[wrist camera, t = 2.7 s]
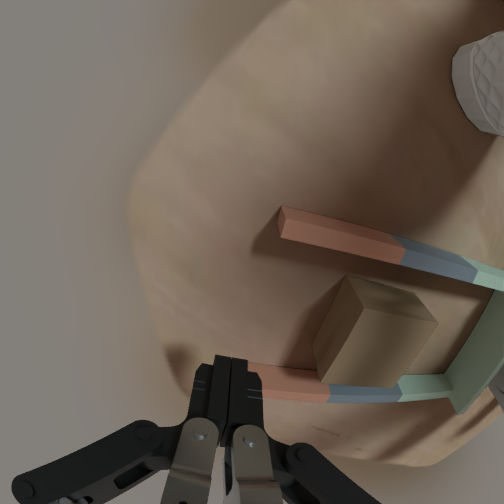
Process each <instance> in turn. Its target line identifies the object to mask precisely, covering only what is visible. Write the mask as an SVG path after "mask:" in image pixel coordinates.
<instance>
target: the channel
mask: <svg viewBox="0 0 504 504" xmlns="http://www.w3.org/2000/svg"><path fill="white" fill-rule="evenodd" d="M277 224H278V228H279V232H280V237H281V238H284V239H289V240H294V241H298V242H303V243H307V244H312V245H316V246H321V247H325V248H329V249H334V250H338V251H342V252H347V253H351V254H355V255H360V256H364V257H368V258H373V259H377V260H381V261H385V262H389V263H393V264H398V265H402V266H406V267H410V268H414V269H418V270H422V271H426V272H430V273H434V274H438V275H442V276H446V277H450V278H454V279H458V280H462V281H466V282H469V283H473V284H477V285H481V286H485V287H488V288H492V289H495V291H494V293H493V295H492V297H491V299H490V301H489V302H488V304H487V306H486V308H485V310H484V312H483V314H482V315H481V317H480V319H479V321H478V322H477V324H476V326H475V328H474V329H473V331H472V333H471V334H470V336H469V337H468V339H467V341H466V342H465V344H464V345H463V347H462V348H461V350H460V351H459V353H458V354H457V356H456V357H455V359H454V360H453V362H452V363H451V365H450V366H449V367H448V369H447V370H446V371H445V373H444V374H429V375H402V377H401V378H400V379H399V380H398V382H397V383H396V384H395V385H394V387H393V388H379V387H362V386H348V385H337V384H327V383H320V380H319V376H318V371H312V370H302V369H293V368H285V367H277V366H270V365H263V364H256V363H249V362H248V371H251V372H257V373H258V375H259V377H260V379H261V381H262V396H263V397H264V398H273V399H282V400H294V401H307V402H326V403H387V402H405V401H418V400H429V399H438V398H446V397H448V398H449V400H450V402H451V404H452V406H453V408H454V410H455V411H456V413H457V415H459V414H463V413H464V412H465V411H466V410H467V409H468V408H469V407H470V405H471V404H472V403H473V402H474V401H475V400H476V399H477V397H478V396H479V395H480V394H481V393H482V391H483V390H484V389H485V388H486V386H487V385H488V384H489V383H490V381H491V380H492V379H493V377H494V376H495V375H496V373H497V372H498V371H499V369H500V368H501V367H502V365H503V364H504V271H502V270H500V269H497V268H494V267H491V266H488V265H486V264H483V263H480V262H477V261H474V260H471V259H468V258H466V257H463V256H460V255H457V254H454V253H451V252H447V251H444V250H441V249H438V248H435V247H432V246H429V245H425V244H422V243H419V242H416V241H412V240H409V239H406V238H402V237H399V236H396V235H392V234H389V233H385V232H382V231H378V230H375V229H371V228H367V227H364V226H360V225H357V224H353V223H349V222H345V221H341V220H338V219H334V218H330V217H326V216H322V215H318V214H314V213H310V212H306V211H302V210H298V209H293V208H289V207H285V206H281V209H280V213H279V217H278V221H277Z"/></svg>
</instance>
